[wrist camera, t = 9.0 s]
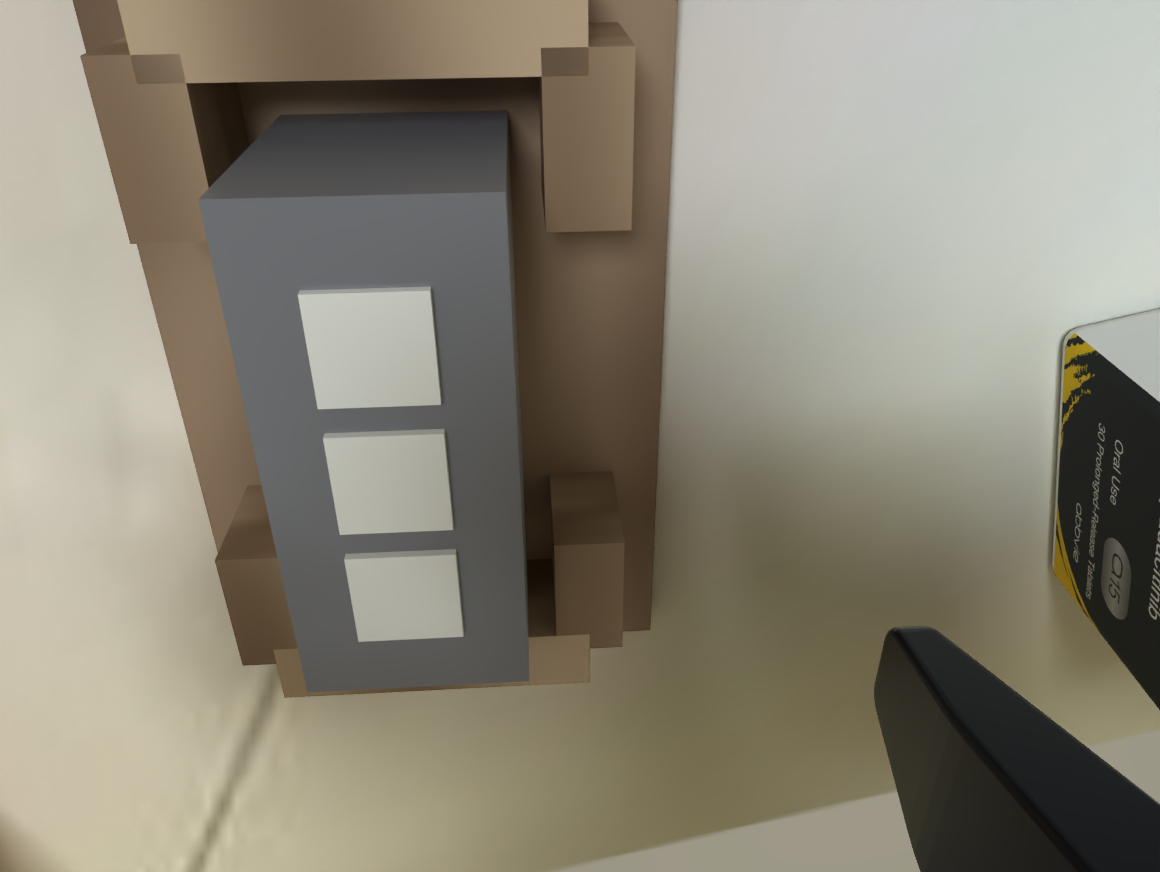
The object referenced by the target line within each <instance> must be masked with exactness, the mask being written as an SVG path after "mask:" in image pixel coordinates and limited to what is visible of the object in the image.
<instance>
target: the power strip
mask: <svg viewBox="0 0 1160 872" xmlns="http://www.w3.org/2000/svg"><path fill="white" fill-rule="evenodd" d="M198 202H199V206H200V211H201V215H202V220H203V224H204V229H205V233H206V238H207V242H208V247H209V251H210V256H211V260H212V265H213V269H214V274H215V278H216V283H217V287H218V292H219V296H220V301H221V305H222V310H223V314H224V319H225V323H226V328H227V332H228V337H229V341H230V346H231V350H232V355H233V359H234V364H235V368H236V373H237V377H238V382H239V386H240V391H241V395H242V400H243V404H244V409H245V413H246V418H247V422H248V427H249V431H250V436H251V440H252V445H253V450H254V454H255V459H256V463H257V468H258V472H259V477H260V481H261V486H262V490H263V495H264V499H265V504H266V508H267V513H268V517H269V522H270V526H271V531H272V535H273V540H274V544H275V549H276V553H277V558H278V562H279V567H280V571H281V576H282V580H283V585H284V589H285V594H286V598H287V603H288V607H289V612H290V616H291V621H292V625H293V630H294V634H295V639H296V643H297V648H298V652H299V657H300V661H301V666H302V670H303V675H304V679H305V684H306V688H307V692H326V691H346V690H365V689H385V688H405V687H424V686H444V685H463V684H483V683H502V682H522V681H530V680H529V633H528V585H527V538H526V506H525V484H524V462H523V440H522V418H521V396H520V374H519V352H518V330H517V309H516V287H515V265H514V243H513V221H512V199H511V177H510V155H509V133H508V111H507V110H487V111H438V112H390V113H342V114H293V115H279V116H278V117H277V118H276V119H275V120H274V121H273V122H272V124H271V125H270V126H269V127H268V128H267V129H266V130H265V131H264V132H263V133H262V134H261V135H260V136H259V137H258V138H257V139H256V140H255V141H254V142H253V143H252V144H251V145H250V146H249V147H248V148H247V149H246V150H245V151H244V152H243V154H242V155H241V156H240V157H239V158H238V159H237V160H236V161H235V162H234V163H233V164H232V165H231V166H230V167H229V168H228V169H227V170H226V171H225V172H224V173H223V174H222V175H221V176H220V177H219V178H218V179H217V180H216V181H215V182H214V184H213V185H212V186H211V187H210V188H209V189H208V190H207V191H206V192H205V193H204V194H203V195H202V196H201V197H200V198H199V199H198Z"/></svg>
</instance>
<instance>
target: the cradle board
mask: <svg viewBox="0 0 1160 872" xmlns="http://www.w3.org/2000/svg"><path fill="white" fill-rule="evenodd" d="M73 3H74V7H75V11H76V15H77V19H78V22H79V26H80V30H81V34H82V38H83V41H84V45H85V49H86V54H83V55H81V56H80V57H81V60H82V64H83V68H84V72H85V75H86V79H87V83H88V87H89V90H90V94H91V98H92V102H93V105H94V109H95V113H96V117H97V120H98V124H99V128H100V132H101V135H102V139H103V143H104V147H105V150H106V154H107V158H108V162H109V165H110V169H111V173H112V177H113V180H114V184H115V188H116V192H117V195H118V199H119V203H120V207H121V210H122V214H123V218H124V222H125V225H126V229H127V233H128V237H129V240H130V244H137V247H138V250H139V254H140V258H141V262H142V266H143V269H144V273H145V277H146V281H147V285H148V288H149V292H150V296H151V300H152V304H153V308H154V311H155V315H156V319H157V323H158V327H159V330H160V334H161V338H162V342H163V346H164V349H165V353H166V357H167V361H168V365H169V368H170V372H171V376H172V380H173V384H174V387H175V391H176V395H177V399H178V403H179V406H180V410H181V414H182V418H183V422H184V425H185V429H186V433H187V437H188V441H189V444H190V448H191V452H192V456H193V460H194V463H195V467H196V471H197V475H198V479H199V482H200V486H201V490H202V494H203V498H204V501H205V505H206V509H207V513H208V517H209V520H210V524H211V528H212V532H213V536H214V539H215V543H216V547H217V551H218V555H217V557H216V559H215V563H216V567H217V570H218V574H219V578H220V582H221V585H222V589H223V593H224V597H225V600H226V604H227V608H228V612H229V615H230V619H231V623H232V627H233V630H234V634H235V638H236V642H237V645H238V649H239V653H240V657H241V660H242V664H243V665H262V664H277V667H278V671H279V676H280V680H281V684H282V688H283V692H284V696H285V698H286V697H305V696H325V695H344V694H364V693H384V692H403V691H423V690H442V689H462V688H481V687H501V686H521V685H540V684H560V683H579V682H590V648H607V647H622V631H642V630H650V623H651V600H652V577H653V553H654V530H655V507H656V484H657V461H658V437H659V414H660V391H661V368H662V345H663V321H664V298H665V275H666V252H667V229H668V205H669V182H670V159H671V136H672V113H673V89H674V66H675V43H676V20H677V0H73ZM487 110H507V111H508V133H509V155H510V177H511V199H512V221H513V243H514V265H515V287H516V309H517V330H518V352H519V374H520V396H521V418H522V440H523V462H524V484H525V506H526V538H527V585H528V633H529V680H530V681H522V682H502V683H483V684H463V685H444V686H424V687H405V688H385V689H365V690H346V691H326V692H307V688H306V684H305V679H304V675H303V670H302V666H301V661H300V657H299V652H298V648H297V643H296V639H295V634H294V630H293V625H292V621H291V616H290V612H289V607H288V603H287V598H286V594H285V589H284V585H283V580H282V576H281V571H280V567H279V562H278V558H277V553H276V549H275V544H274V540H273V535H272V531H271V526H270V522H269V517H268V513H267V508H266V504H265V499H264V495H263V490H262V486H261V481H260V477H259V472H258V468H257V463H256V459H255V454H254V450H253V445H252V440H251V436H250V431H249V427H248V422H247V418H246V413H245V409H244V404H243V400H242V395H241V391H240V386H239V382H238V377H237V373H236V368H235V364H234V359H233V355H232V350H231V346H230V341H229V337H228V332H227V328H226V323H225V319H224V314H223V310H222V305H221V301H220V296H219V292H218V287H217V283H216V278H215V274H214V269H213V265H212V260H211V256H210V251H209V247H208V242H207V238H206V233H205V229H204V224H203V220H202V215H201V211H200V206H199V202H198V199H199V198H200V197H201V196H202V195H203V194H204V193H205V192H206V191H207V190H208V189H209V188H210V187H211V186H212V185H213V184H214V182H215V181H216V180H217V179H218V178H219V177H220V176H221V175H222V174H223V173H224V172H225V171H226V170H227V169H228V168H229V167H230V166H231V165H232V164H233V163H234V162H235V161H236V160H237V159H238V158H239V157H240V156H241V155H242V154H243V152H244V151H245V150H246V149H247V148H248V147H249V146H250V145H251V144H252V143H253V142H254V141H255V140H256V139H257V138H258V137H259V136H260V135H261V134H262V133H263V132H264V131H265V130H266V129H267V128H268V127H269V126H270V125H271V124H272V122H273V121H274V120H275V119H276V118H277V117H278V116H279V115H293V114H342V113H390V112H438V111H487Z"/></svg>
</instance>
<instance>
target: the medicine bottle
mask: <svg viewBox="0 0 1160 872" xmlns="http://www.w3.org/2000/svg"><path fill="white" fill-rule="evenodd" d="M1052 566H1053V569H1054V572H1055V575H1056V577H1057V578H1058V579H1059V580H1060V582H1061V583H1062V584H1063V586H1064V587H1065V588H1066V590H1067V591H1068V592H1069V593H1070V595H1071V596H1072V597H1073V599H1074V600H1075V601H1076V602H1077V604H1078V605H1079V606H1080V608H1081V609H1082V610H1083V611H1084V613H1085V614H1086V615H1087V617H1088V618H1089V619H1090V621H1091V622H1092V623H1093V624H1094V626H1095V627H1096V628H1097V630H1098V631H1099V632H1100V633H1101V635H1102V636H1103V637H1104V639H1105V640H1106V641H1107V642H1108V644H1109V645H1110V646H1111V648H1112V649H1113V650H1114V651H1115V653H1116V654H1117V655H1118V657H1119V658H1120V659H1121V661H1122V662H1123V663H1124V664H1125V666H1126V667H1127V668H1128V670H1129V671H1130V672H1131V673H1132V675H1133V676H1134V677H1135V679H1136V680H1137V681H1138V682H1139V684H1140V685H1141V686H1142V688H1143V689H1144V690H1145V692H1146V693H1147V694H1148V695H1149V697H1150V698H1151V699H1152V701H1153V702H1154V703H1155V704H1156V706H1157V707H1158V708H1159V710H1160V309H1155V310H1151V311H1147V312H1142V313H1138V314H1134V315H1129V316H1125V317H1121V318H1116V319H1112V320H1108V321H1103V322H1099V323H1095V324H1090V325H1086V326H1081V327H1078V328H1076V329H1074V330H1071V331H1070V332H1069V334H1068V335H1067V336H1066V337H1065V340H1064V343H1063V358H1062V378H1061V398H1060V418H1059V438H1058V459H1057V479H1056V499H1055V519H1054V540H1053V560H1052Z"/></svg>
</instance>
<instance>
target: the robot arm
mask: <svg viewBox="0 0 1160 872" xmlns="http://www.w3.org/2000/svg"><path fill="white" fill-rule="evenodd" d="M874 699H875V706H876V711H877V715H878V719H879V723H880V727H881V730H882V734H883V738H884V742H885V746H886V750H887V753H888V757H889V761H890V765H891V769H892V773H893V776H894V780H895V784H896V788H897V792H898V795H899V799H900V803H901V807H902V811H903V814H904V819H905V823H906V826H907V830H908V834H909V837H910V841H911V844H912V848H913V851H914V854H915V857H916V860H917V863H918V866H919V869H920V871H921V872H1160V804H1159V803H1158V802H1157V801H1155V800H1154V799H1153V798H1152V797H1150V796H1149V795H1148V794H1146V793H1145V792H1144V791H1143V790H1141V789H1140V788H1139V787H1137V786H1136V785H1135V784H1134V783H1132V782H1131V781H1129V780H1128V779H1127V778H1126V777H1125V776H1123V775H1122V774H1121V773H1119V772H1118V771H1117V770H1116V769H1114V768H1113V767H1112V766H1110V765H1109V764H1108V763H1107V762H1105V761H1104V760H1103V759H1101V758H1100V757H1099V756H1098V755H1096V754H1095V753H1094V752H1092V751H1091V750H1090V749H1089V748H1087V747H1086V746H1085V745H1084V744H1082V743H1081V742H1080V741H1078V740H1077V739H1076V738H1075V737H1073V736H1072V735H1071V734H1069V733H1068V732H1067V731H1066V730H1064V729H1063V728H1062V727H1060V726H1059V725H1058V724H1057V723H1055V722H1054V721H1053V720H1051V719H1050V718H1049V717H1048V716H1046V715H1045V714H1044V713H1042V712H1041V711H1040V710H1039V709H1037V708H1036V707H1035V706H1033V705H1032V704H1031V703H1030V702H1028V701H1027V700H1026V699H1024V698H1023V697H1022V696H1021V695H1019V694H1018V693H1017V692H1015V691H1014V690H1013V689H1012V688H1010V687H1009V686H1008V685H1006V684H1005V683H1004V682H1003V681H1001V680H1000V679H999V678H997V677H996V676H995V675H994V674H992V673H991V672H990V671H988V670H987V669H986V668H985V667H983V666H982V665H981V664H980V663H978V662H977V661H976V660H974V659H973V658H972V657H971V656H969V655H968V654H967V653H965V652H964V651H963V650H962V649H960V648H959V647H958V646H956V645H955V644H954V643H953V642H951V641H950V640H949V639H947V638H946V637H945V636H944V635H942V634H941V633H940V632H938V631H937V630H935V629H933V628H931V627H928V626H912V627H895V628H892V629H891V630H889V632H888V633H887V635H886V637H885V640H884V645H883V649H882V654H881V659H880V663H879V668H878V672H877V677H876V681H875V687H874Z"/></svg>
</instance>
